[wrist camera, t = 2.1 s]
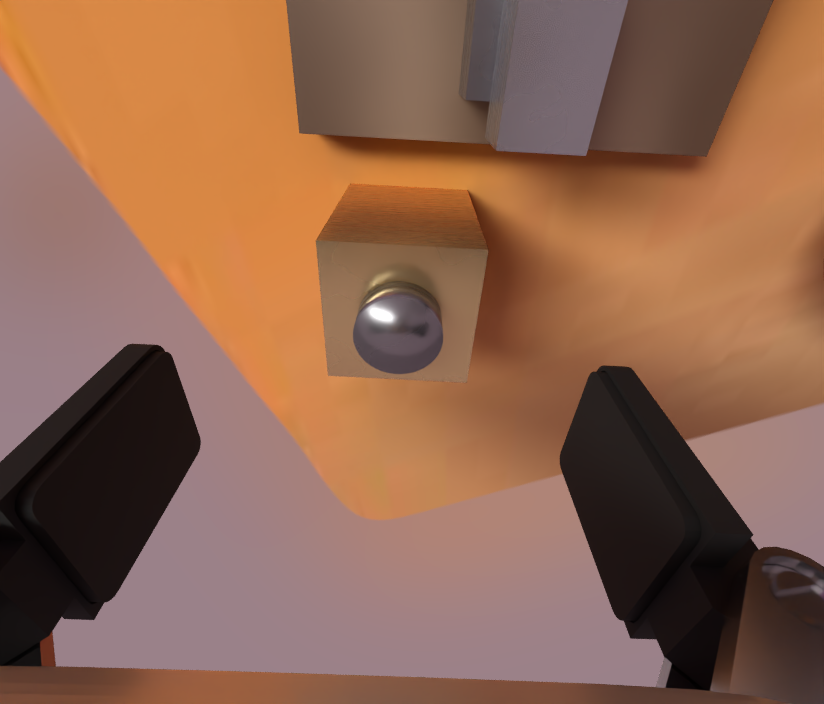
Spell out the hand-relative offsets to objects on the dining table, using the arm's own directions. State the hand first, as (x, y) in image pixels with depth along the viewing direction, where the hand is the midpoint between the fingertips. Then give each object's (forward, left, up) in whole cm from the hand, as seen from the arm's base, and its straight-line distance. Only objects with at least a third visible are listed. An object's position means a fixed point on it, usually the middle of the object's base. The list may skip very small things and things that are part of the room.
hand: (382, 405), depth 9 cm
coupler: (0, -1, -9) cm, 9 cm away
